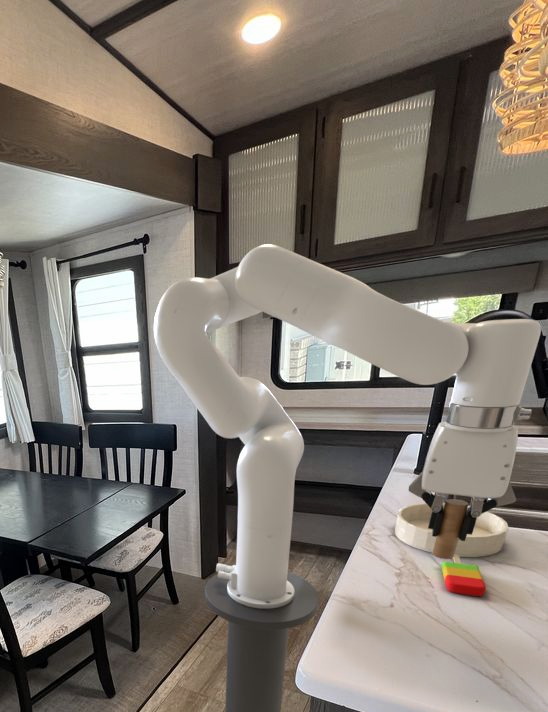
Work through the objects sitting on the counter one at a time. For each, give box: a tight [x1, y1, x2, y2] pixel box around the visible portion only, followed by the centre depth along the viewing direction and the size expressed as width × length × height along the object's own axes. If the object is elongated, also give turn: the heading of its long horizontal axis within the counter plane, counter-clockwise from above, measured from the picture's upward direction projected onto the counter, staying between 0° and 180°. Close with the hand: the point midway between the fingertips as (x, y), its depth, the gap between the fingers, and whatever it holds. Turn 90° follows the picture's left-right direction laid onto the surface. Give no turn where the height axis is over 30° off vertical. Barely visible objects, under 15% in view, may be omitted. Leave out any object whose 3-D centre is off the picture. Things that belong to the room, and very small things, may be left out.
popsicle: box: [441, 554, 487, 597], centre depth 88 cm, size 6×15×2 cm, turn 152°
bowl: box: [394, 502, 509, 558], centre depth 102 cm, size 19×19×4 cm
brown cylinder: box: [432, 498, 469, 560], centre depth 72 cm, size 3×3×9 cm
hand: (448, 534), depth 73 cm, fingers closed on brown cylinder, 2 cm apart
